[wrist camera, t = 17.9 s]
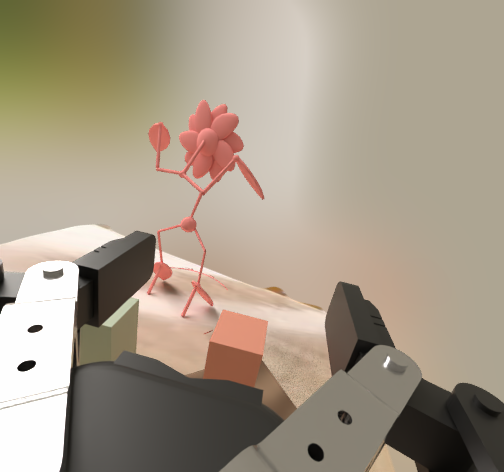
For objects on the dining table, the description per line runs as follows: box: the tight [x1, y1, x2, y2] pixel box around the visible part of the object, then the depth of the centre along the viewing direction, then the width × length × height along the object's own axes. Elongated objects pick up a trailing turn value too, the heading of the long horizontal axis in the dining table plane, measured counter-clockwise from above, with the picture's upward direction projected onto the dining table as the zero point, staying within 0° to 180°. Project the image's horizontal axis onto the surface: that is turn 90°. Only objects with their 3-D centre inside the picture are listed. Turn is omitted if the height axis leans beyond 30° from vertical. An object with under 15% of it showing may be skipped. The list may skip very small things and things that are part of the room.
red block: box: [203, 310, 268, 387], centre depth 30 cm, size 5×5×12 cm
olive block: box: [80, 297, 139, 365], centre depth 32 cm, size 5×5×12 cm
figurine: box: [147, 100, 264, 334], centre depth 50 cm, size 15×26×35 cm, turn 57°
